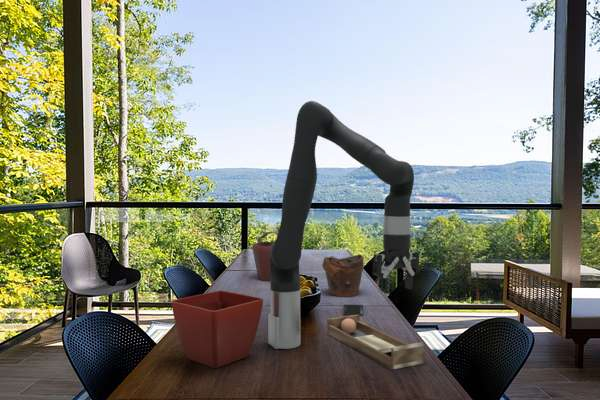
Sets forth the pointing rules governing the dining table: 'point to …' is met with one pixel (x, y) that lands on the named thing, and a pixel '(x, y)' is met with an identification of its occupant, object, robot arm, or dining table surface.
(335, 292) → the terracotta flower pot
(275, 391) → the dining table surface
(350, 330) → the ball
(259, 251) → the bucket
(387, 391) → the dining table surface
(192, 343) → the plant pot
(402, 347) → the track
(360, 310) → the phone
